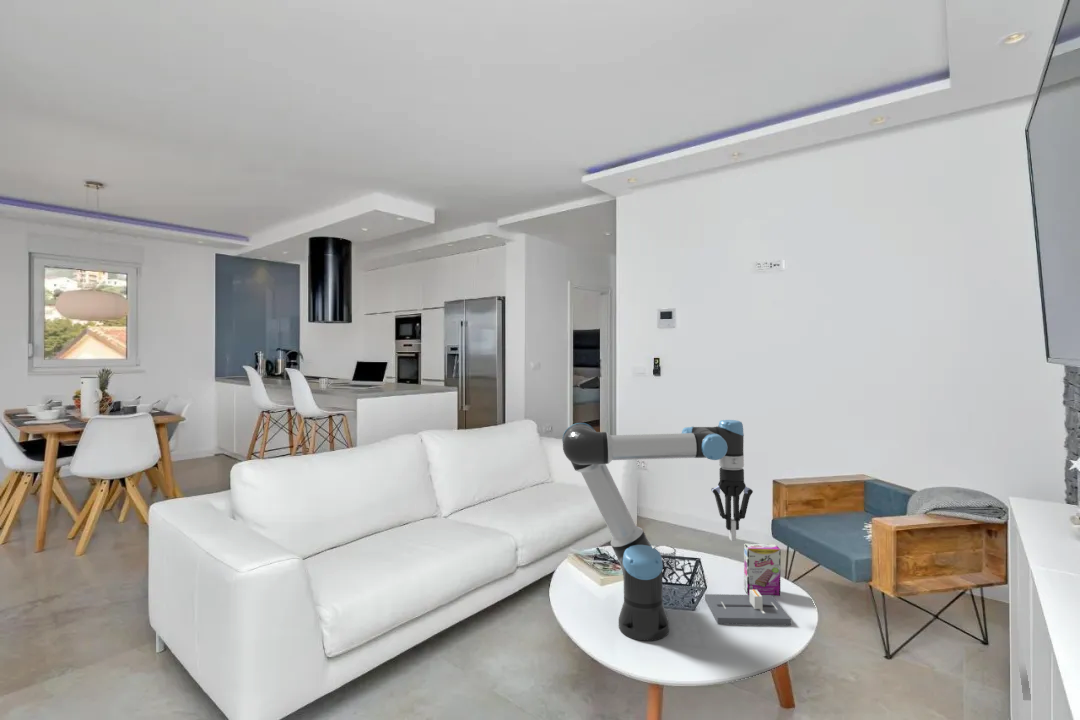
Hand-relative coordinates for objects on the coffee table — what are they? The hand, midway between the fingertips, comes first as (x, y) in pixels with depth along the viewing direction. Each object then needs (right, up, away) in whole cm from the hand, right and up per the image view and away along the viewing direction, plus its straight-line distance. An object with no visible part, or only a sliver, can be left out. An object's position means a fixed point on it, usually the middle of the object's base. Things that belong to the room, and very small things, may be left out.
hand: (732, 539), depth 174 cm
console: (+3, -22, -3) cm, 23 cm away
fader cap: (+6, -20, -3) cm, 21 cm away
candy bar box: (+14, -22, +10) cm, 28 cm away
